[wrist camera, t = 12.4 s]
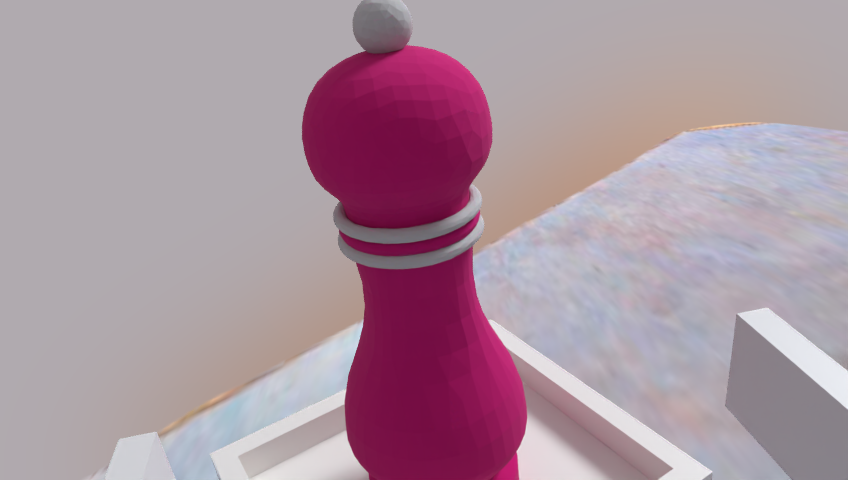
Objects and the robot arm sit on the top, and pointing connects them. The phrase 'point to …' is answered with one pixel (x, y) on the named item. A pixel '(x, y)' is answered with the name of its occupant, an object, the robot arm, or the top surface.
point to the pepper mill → (414, 256)
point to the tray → (537, 455)
